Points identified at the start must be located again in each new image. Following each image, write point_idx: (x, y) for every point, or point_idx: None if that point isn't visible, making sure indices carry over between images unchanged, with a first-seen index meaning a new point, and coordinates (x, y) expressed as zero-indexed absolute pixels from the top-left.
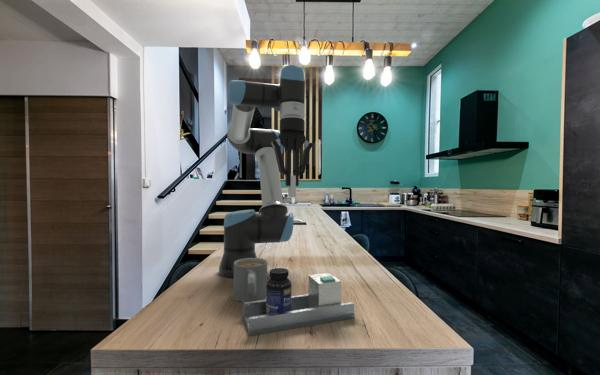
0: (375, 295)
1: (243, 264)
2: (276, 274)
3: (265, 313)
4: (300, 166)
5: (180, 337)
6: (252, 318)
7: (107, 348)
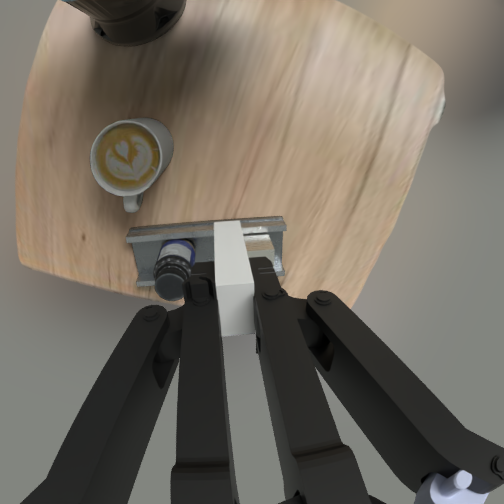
0: (353, 208)
1: (112, 146)
2: (165, 298)
3: (160, 241)
4: (332, 340)
5: (71, 261)
6: (140, 285)
7: (23, 264)
